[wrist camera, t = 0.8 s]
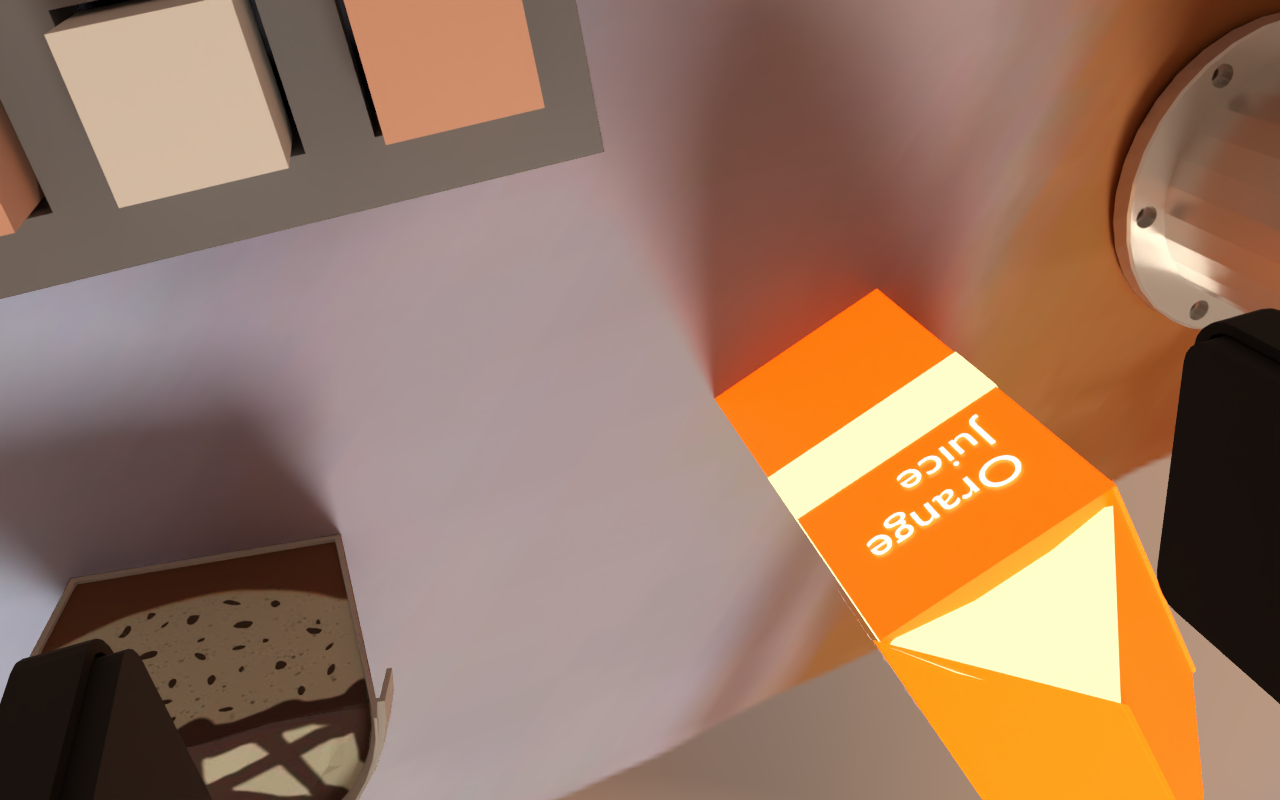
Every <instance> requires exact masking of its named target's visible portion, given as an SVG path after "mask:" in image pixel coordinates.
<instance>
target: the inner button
mask: <svg viewBox="0 0 1280 800" xmlns="http://www.w3.org/2000/svg"><path fill="white" fill-rule="evenodd" d="M344 4H345V7H346V10H347V14H348V17H349V21H350V24H351V27H352V31H353V34H354V38H355V41H356V45H357V48H358V51H359V55H360V58H361V62H362V65H363V69H364V72H365V75H366V79H367V82H368V86H369V89H370V93H371V96H372V99H373V103H374V106H375V110H376V113H377V117H378V120H379V123H380V127H381V130H382V134H383V137H384V141H385V144H386V145H389V144H393V143H398V142H402V141H406V140H410V139H415V138H419V137H423V136H427V135H432V134H436V133H440V132H444V131H448V130H453V129H457V128H461V127H465V126H470V125H474V124H478V123H482V122H487V121H491V120H495V119H499V118H504V117H508V116H512V115H516V114H521V113H525V112H529V111H533V110H537V109H542V108H545V106H544V101H543V97H542V92H541V87H540V83H539V78H538V73H537V69H536V64H535V59H534V55H533V50H532V45H531V40H530V36H529V31H528V26H527V22H526V17H525V12H524V8H523V3H522V0H344Z"/></svg>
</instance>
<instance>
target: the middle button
mask: <svg viewBox="0 0 1280 800" xmlns="http://www.w3.org/2000/svg"><path fill="white" fill-rule="evenodd" d="M44 36H45V38H46V40H47V43H48V45H49V47H50V50H51V52H52V54H53V57H54V59H55V61H56V64H57V66H58V68H59V70H60V73H61V75H62V77H63V80H64V82H65V84H66V87H67V89H68V91H69V94H70V96H71V98H72V101H73V103H74V105H75V108H76V110H77V112H78V115H79V117H80V119H81V121H82V124H83V126H84V128H85V131H86V133H87V135H88V138H89V140H90V142H91V145H92V147H93V149H94V152H95V154H96V156H97V159H98V161H99V163H100V166H101V168H102V170H103V173H104V175H105V177H106V179H107V182H108V184H109V186H110V189H111V191H112V193H113V196H114V198H115V200H116V203H117V205H118V207H119V208H122V207H126V206H131V205H135V204H139V203H143V202H148V201H152V200H156V199H160V198H165V197H169V196H173V195H177V194H182V193H186V192H190V191H194V190H198V189H203V188H207V187H211V186H215V185H220V184H224V183H228V182H232V181H237V180H241V179H245V178H249V177H254V176H258V175H262V174H266V173H271V172H275V171H279V170H283V169H287V168H289V163H290V155H291V147H292V139H293V130H292V127H291V124H290V121H289V118H288V115H287V112H286V109H285V106H284V103H283V100H282V97H281V94H280V91H279V88H278V85H277V82H276V79H275V76H274V73H273V70H272V67H271V64H270V61H269V58H268V55H267V52H266V49H265V46H264V43H263V40H262V37H261V34H260V31H259V28H258V25H257V22H256V19H255V16H254V13H253V10H252V7H251V4H250V1H249V0H130V1H125V2H120V3H115V4H111V5H106V6H101V7H96V8H92V9H87V10H82V11H78V12H76V13H75V14H73V15H72V16H70V17H69V18H68V19H66V20H65V21H63V22H62V23H60V24H59V25H57V26H56V27H54V28H53V29H51V30H50V31H49V32H47V33H46V34H44Z"/></svg>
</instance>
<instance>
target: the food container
mask: <svg viewBox="0 0 1280 800" xmlns="http://www.w3.org/2000/svg"><path fill="white" fill-rule="evenodd" d="M95 638H96V639H101V640H103V641H104V642H106V643H107V644H108V645H109V646H110V648H111V649H112V651H113V652H114V653H115V652H119V651H122V650H126V649H133V650H134V651H135V652H136V653H138V655H139V656H140V658H141V659H142V661H143V663H144V665H145V667H146V669H147V671H148V673H149V675H150V677H151V679H152V681H153V683H154V685H155V687H156V689H157V690H158V692H159V694H160V696H161V698H162V700H163V702H164V704H165V706H166V708H167V710H168V712H169V714H170V716H171V718H172V720H173V722H174V724H175V726H176V728H177V730H178V732H179V734H180V736H181V738H182V740H183V742H184V744H185V746H186V748H187V750H188V752H189V754H190V756H191V758H192V760H193V762H194V764H195V766H196V768H197V770H198V772H199V774H200V776H201V778H202V780H203V782H204V784H205V786H206V788H207V790H208V792H209V794H210V796H211V798H212V800H359V798H360V796H361V795H362V793H363V791H364V789H365V787H366V786H367V784H368V782H369V780H370V778H371V776H372V775H373V773H374V771H375V769H376V767H377V764H378V761H379V758H380V755H381V752H382V749H383V746H384V742H385V737H386V733H387V728H388V723H389V719H390V714H391V707H392V699H393V690H394V689H393V676H392V668H388V669H387V670H386V674H385V679H384V683H383V687H382V691H381V695H380V698H376V697H375V692H374V687H373V683H372V678H371V673H370V669H369V664H368V659H367V655H366V650H365V645H364V641H363V636H362V631H361V627H360V622H359V617H358V613H357V608H356V603H355V598H354V594H353V589H352V584H351V580H350V575H349V570H348V566H347V561H346V556H345V552H344V547H343V542H342V538H341V534H339V535H333V536H327V537H321V538H315V539H308V540H302V541H296V542H290V543H284V544H278V545H272V546H266V547H260V548H254V549H248V550H241V551H235V552H229V553H223V554H217V555H211V556H205V557H199V558H193V559H187V560H180V561H174V562H168V563H162V564H156V565H150V566H144V567H138V568H132V569H126V570H119V571H113V572H107V573H101V574H95V575H89V576H83V577H77V578H71V579H70V581H69V583H68V584H67V586H66V588H65V590H64V592H63V594H62V596H61V598H60V600H59V602H58V604H57V605H56V607H55V609H54V611H53V613H52V615H51V617H50V619H49V621H48V623H47V625H46V626H45V628H44V630H43V632H42V634H41V636H40V638H39V640H38V642H37V644H36V646H35V647H34V649H33V651H32V653H31V655H30V657H32V656H35V655H39V654H42V653H46V652H49V651H53V650H56V649H60V648H64V647H67V646H71V645H74V644H78V643H81V642H85V641H88V640H92V639H95Z"/></svg>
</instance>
